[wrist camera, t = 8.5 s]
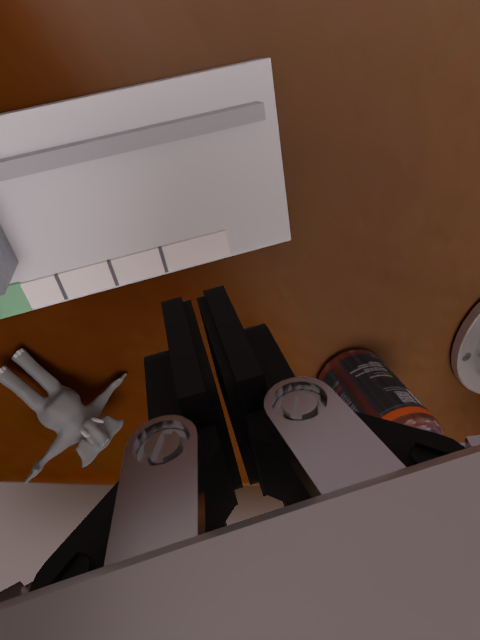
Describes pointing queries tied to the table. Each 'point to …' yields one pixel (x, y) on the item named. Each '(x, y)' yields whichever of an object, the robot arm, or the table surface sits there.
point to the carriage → (6, 262)
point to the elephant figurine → (63, 412)
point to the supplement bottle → (375, 390)
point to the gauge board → (140, 182)
